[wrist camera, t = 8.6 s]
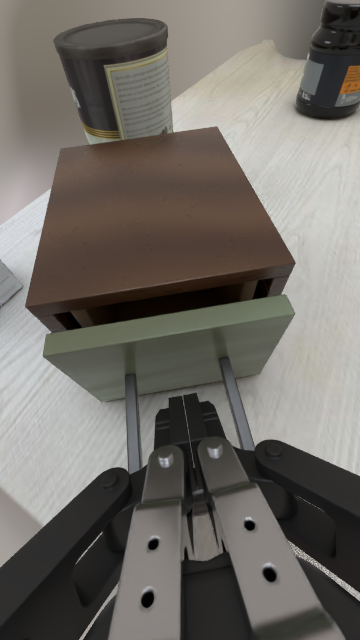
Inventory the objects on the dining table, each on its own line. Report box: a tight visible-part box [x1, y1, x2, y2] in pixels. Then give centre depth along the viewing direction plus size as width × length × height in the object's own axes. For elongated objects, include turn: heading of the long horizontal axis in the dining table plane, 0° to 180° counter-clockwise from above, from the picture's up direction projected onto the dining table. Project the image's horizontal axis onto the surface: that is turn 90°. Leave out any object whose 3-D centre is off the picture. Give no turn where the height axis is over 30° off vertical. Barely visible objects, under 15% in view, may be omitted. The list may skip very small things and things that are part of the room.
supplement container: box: [296, 0, 360, 118], centre depth 39 cm, size 10×10×12 cm
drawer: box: [43, 280, 295, 517], centre depth 17 cm, size 22×12×8 cm, turn 9°
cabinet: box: [25, 127, 295, 333], centre depth 20 cm, size 16×13×10 cm
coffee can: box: [54, 18, 173, 145], centre depth 28 cm, size 10×10×14 cm
